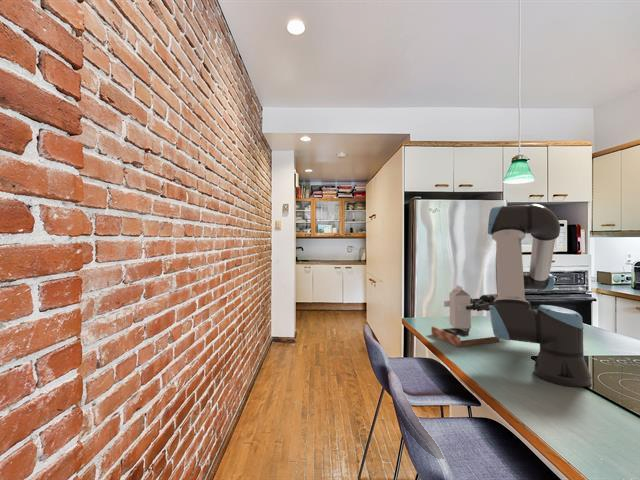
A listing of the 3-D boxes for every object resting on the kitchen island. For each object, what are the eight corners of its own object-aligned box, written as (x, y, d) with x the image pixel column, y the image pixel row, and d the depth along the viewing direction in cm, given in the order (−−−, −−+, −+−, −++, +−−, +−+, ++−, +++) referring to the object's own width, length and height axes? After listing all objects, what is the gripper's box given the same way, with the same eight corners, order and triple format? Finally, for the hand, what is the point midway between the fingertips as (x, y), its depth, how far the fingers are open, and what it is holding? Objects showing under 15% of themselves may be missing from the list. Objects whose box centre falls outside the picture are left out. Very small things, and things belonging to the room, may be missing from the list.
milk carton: (465, 324, 145) (464, 284, 145) (471, 328, 138) (470, 287, 138) (449, 324, 145) (448, 284, 146) (454, 328, 138) (454, 287, 138)
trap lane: (498, 341, 139) (498, 333, 139) (458, 347, 133) (458, 337, 133) (468, 330, 158) (468, 322, 158) (431, 334, 152) (431, 326, 152)
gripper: (511, 315, 136) (469, 319, 130) (474, 305, 157) (436, 309, 151) (510, 298, 136) (468, 302, 130) (473, 291, 157) (436, 293, 151)
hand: (451, 305), depth 140 cm, fingers closed on milk carton, 9 cm apart
